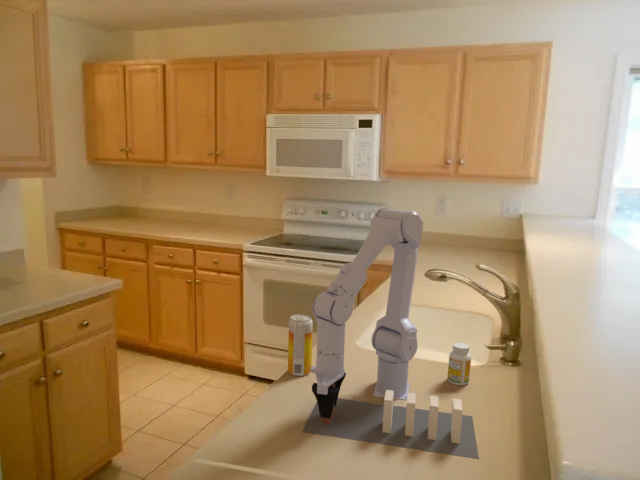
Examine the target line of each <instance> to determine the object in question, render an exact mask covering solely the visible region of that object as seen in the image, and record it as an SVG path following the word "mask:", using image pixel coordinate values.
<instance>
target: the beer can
mask: <svg viewBox="0 0 640 480" xmlns="http://www.w3.org/2000/svg"><path fill="white" fill-rule="evenodd" d="M289 318H290V319H288V340H287V342H288V343H287V345H288V347H287V372H288V373H289V374H290V375H292V376H295V377H304V376H308V375H310V373H311V372H310V369H311V367H312V360H313V359H312V358H313V356H312V355H313V325H314V323H313V322H314V321H313V320H312V316H310V315H309V314H293V315H291V316H290V317H289Z"/></svg>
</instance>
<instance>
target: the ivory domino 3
mask: <svg viewBox="0 0 640 480" xmlns="http://www.w3.org/2000/svg"><path fill="white" fill-rule="evenodd" d="M439 407H440V406H439V396H437V395H430V397H429V407H428V408H429V409H428V410H429V422H428V439H432V440H436V436H437V422H438V412H439Z"/></svg>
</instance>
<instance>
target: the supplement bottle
mask: <svg viewBox="0 0 640 480" xmlns="http://www.w3.org/2000/svg"><path fill="white" fill-rule="evenodd" d="M469 352H470V345H468V343H464V342H454V343H453V344H452V351H450V352H449V355H448V364H447V365H448V366H447V381H448V382H449V383H450V384H453V385H455V386H466V385H468V384H469V382H470V374H471V364H472V356H471V354H470V353H469Z"/></svg>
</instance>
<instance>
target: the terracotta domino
mask: <svg viewBox="0 0 640 480" xmlns="http://www.w3.org/2000/svg"><path fill="white" fill-rule="evenodd" d="M332 387H335V383H333V384H332ZM333 415H334V407H333V412H332V415H331V418H330V419H328V418H322V423H324V424H330V422H331V420H332V417H333Z"/></svg>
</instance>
